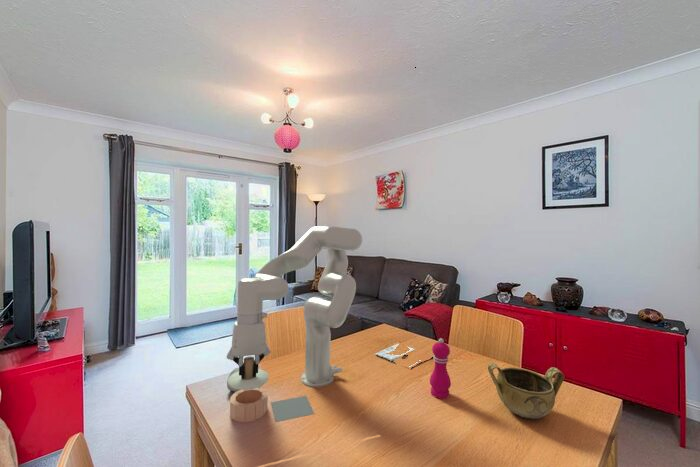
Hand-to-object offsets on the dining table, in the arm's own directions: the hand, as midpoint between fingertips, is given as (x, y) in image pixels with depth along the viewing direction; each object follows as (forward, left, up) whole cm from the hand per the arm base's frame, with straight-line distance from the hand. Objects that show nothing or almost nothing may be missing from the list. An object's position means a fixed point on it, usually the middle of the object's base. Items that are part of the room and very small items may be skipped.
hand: (248, 375), depth 97 cm
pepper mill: (-64, +12, -12) cm, 66 cm away
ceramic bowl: (-83, +30, -12) cm, 89 cm away
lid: (0, 0, -2) cm, 2 cm away
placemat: (-13, +3, -12) cm, 18 cm away
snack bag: (-69, -20, -13) cm, 73 cm away
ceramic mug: (0, -15, -12) cm, 19 cm away
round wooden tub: (0, 0, -12) cm, 12 cm away
